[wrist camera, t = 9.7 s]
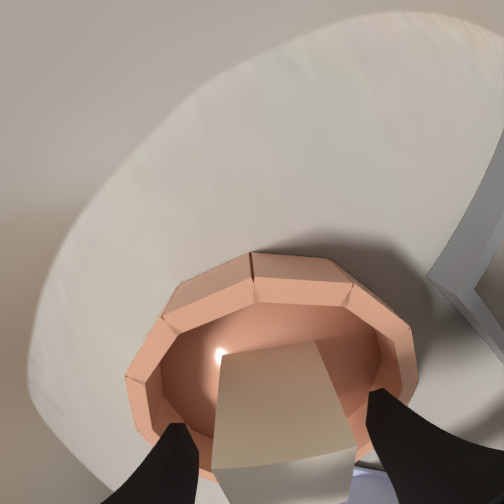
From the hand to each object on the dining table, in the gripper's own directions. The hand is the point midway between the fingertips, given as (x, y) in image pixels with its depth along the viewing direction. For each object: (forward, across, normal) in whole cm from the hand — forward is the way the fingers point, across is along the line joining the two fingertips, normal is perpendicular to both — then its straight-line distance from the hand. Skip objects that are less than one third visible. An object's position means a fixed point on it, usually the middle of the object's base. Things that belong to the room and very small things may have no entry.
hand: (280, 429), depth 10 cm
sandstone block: (+3, 0, 0) cm, 3 cm away
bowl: (+3, 0, 0) cm, 3 cm away
